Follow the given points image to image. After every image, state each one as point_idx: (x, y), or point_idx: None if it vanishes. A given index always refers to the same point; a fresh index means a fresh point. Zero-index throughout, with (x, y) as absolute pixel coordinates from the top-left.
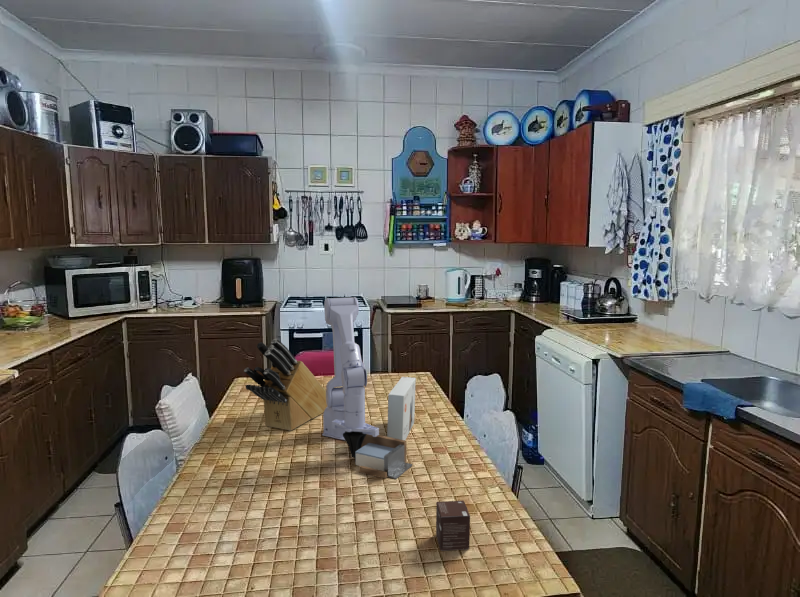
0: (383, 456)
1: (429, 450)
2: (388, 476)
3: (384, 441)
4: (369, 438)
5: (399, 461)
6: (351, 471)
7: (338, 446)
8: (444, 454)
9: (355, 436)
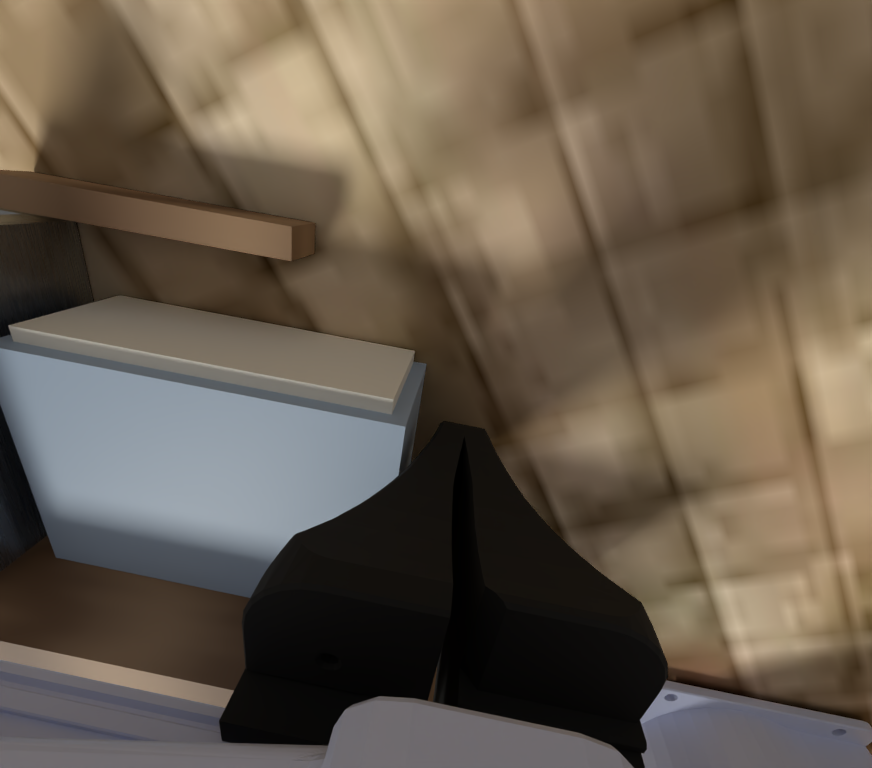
0: (54, 392)
1: None
2: (26, 213)
3: (177, 633)
4: None
5: None
6: (397, 213)
7: (686, 605)
8: None
9: (296, 587)
